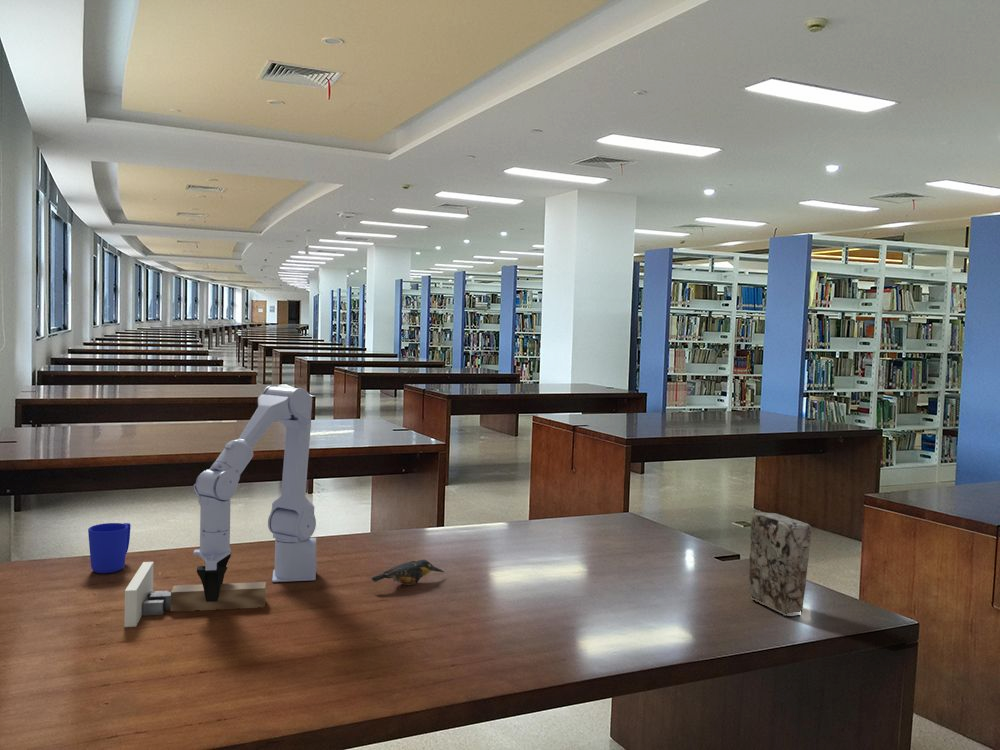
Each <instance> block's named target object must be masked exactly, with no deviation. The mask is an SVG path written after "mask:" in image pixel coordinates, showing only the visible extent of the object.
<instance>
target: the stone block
mask: <svg viewBox="0 0 1000 750" xmlns="http://www.w3.org/2000/svg"><path fill="white" fill-rule="evenodd" d="M811 528H812V527H811V525H810V524H809V523H807V522H803V521H801V520H798V519H794V518H791V517H788V516H786V515H782V514H779V513H774V512H757V511H756V512H755V513H754V514H753V515H752V517H751V524H750V536H749V537H750V541H751V542H750V551H749V573H748V575H749V578H748V579H749V580H748V582H749V591H750V597H752V598H754V599H757V600H759V601H761V602H763V603H765V604H767V605H769V606H770V607H772V608H775V609H777V610H779V611H781V612H782V613H785V614H787V613H793V612H800V611H802V612H803V607H804V598H805V592H806V585H807V583H806V582H807V574H808V567H809V566H808V565H809V560H810V559H809V558H810V546H811V538H812V529H811Z"/></svg>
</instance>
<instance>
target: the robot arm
mask: <svg viewBox="0 0 1000 750" xmlns="http://www.w3.org/2000/svg"><path fill="white" fill-rule="evenodd" d="M312 408H313V397H312V396H311V394H310V393H309V392H308V390H306V389H304V388H303V387H297V388H296V387H286V386H275V385H268V386H266V387H265V388H264V389H263V391H262V393H261V394H260V395H259V396H258V397H257V408H256V410H255V412H254V413H253V414H252V416H251V417H250V419H249V421H248V422H247V425H246V426H245V427H244V429H243V431H242V432H241V434H240V436H239V437H238V439H233V440H230V441H229V442H226V444H225V445H224V449H223V450H222V451H221V452H220V454H219V456H218V457H217V458H216V460H215V461H214V462H213V463H212V464H211V466H210V468H209V469H205V470H203V471H202V472H201V473H200V474H199V475H198V476H197V477H196V481H195V483H194V484H193V490H194V492H195V495H197V499H198V501H197V502H198V504H199V506H200V509H199V510H200V514H199V520H200V521H199V523H200V524H199V549H193V556H198V557H200V558H201V559H202V560H203V561H204V564H205V565H199V566H197V567H196V573H197V576H198V577H199V578H200V581H201V583H202V584H203V588H204V594H205V598H206V601H207V602H215V601H218V597H219V593H220V587H221V584H224V577H225V574H226V572H227V570H228V566H227V565H228V562H229V560H230V559H231V556H232V550H231V546H230V545H231V500H232V499H231V498H232V497H234V495H235V494H236V493H237V490H238V486H239V481H240V480H241V479H240V478H241V475H242V473H243V472H244V471H245V469H246V467H247V466H248V464H249V463H250V461H251V460H252V459H253V457H254V450H253V448H254V447H255V446H256V444H257V442H259V441H260V439H261V438H262V437H263V436H264V434H266V432H267V431H268V430H269V428H271V426H272V424H274V423H275V422H281V424H283V426H284V427H285V441H284V453H283V454H284V455H283V466H282V480H281V492H280V493H281V494H280V495H279V497H278V498H276V500H274V501H273V502H272V504H271V505H272V506H271V510H270V514H269V516H268V519H267V527H268V530H269V532H270V533H271V534H272V538H273V539H275V540H274V541H275V542H274V543H275V544H274V569H273V570H272V579H271V582H273V583H279V582H280V583H282V582H283V583H284V582H287V583H288V582H305V581H307V582H310V581H316V578H317V575H316V574H317V572H316V571H317V570H318V561H317V538H316V537H312V535H313V534H314V532H315V530H316V526H317V521H316V520H317V519H316V516H315V505H314V504H313V503H312V502H311V501H310V499H308V498H307V497H306V493H307V492H306V491H307V479H308V468H309V466H308V465H309V455H310V441H311V430H312V429H311V428H312V410H313V409H312Z"/></svg>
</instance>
